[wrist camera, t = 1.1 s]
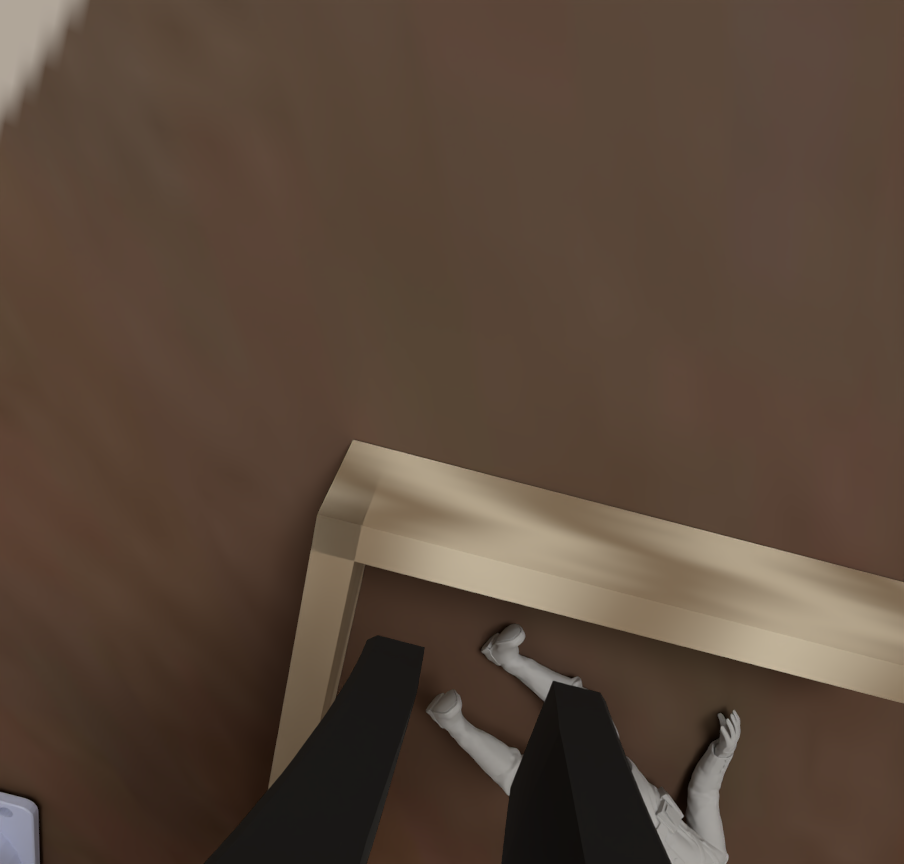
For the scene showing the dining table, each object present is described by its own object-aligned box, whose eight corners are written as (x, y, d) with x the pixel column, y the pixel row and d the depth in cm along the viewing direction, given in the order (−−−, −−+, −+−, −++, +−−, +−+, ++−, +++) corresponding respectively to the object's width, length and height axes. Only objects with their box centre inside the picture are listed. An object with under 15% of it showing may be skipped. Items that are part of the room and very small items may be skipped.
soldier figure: (586, 546, 23) (904, 867, 22) (534, 571, 27) (795, 838, 26) (389, 762, 20) (744, 1142, 19) (368, 749, 24) (652, 1056, 23)
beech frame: (270, 863, 29) (236, 964, 26) (353, 439, 21) (317, 514, 17) (671, 966, 29) (685, 1078, 26) (918, 586, 21) (981, 685, 18)
